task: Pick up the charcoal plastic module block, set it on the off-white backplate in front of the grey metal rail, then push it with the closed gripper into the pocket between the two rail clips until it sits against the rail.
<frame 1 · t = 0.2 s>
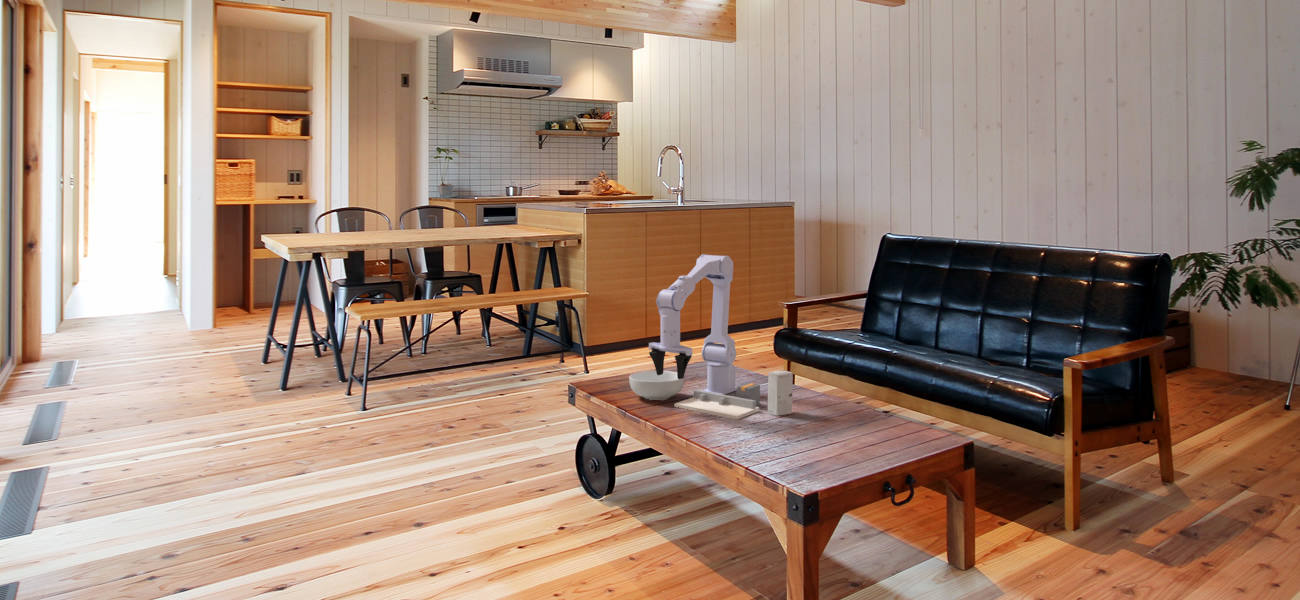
hand: (670, 376, 248), 10 cm above the table, tool pointing down, fingers open, 7 cm apart
cereal bowl: (656, 398, 264), on the table
rail base: (716, 408, 251), on the table
module: (748, 405, 255), on the table
skincare box: (779, 413, 246), on the table
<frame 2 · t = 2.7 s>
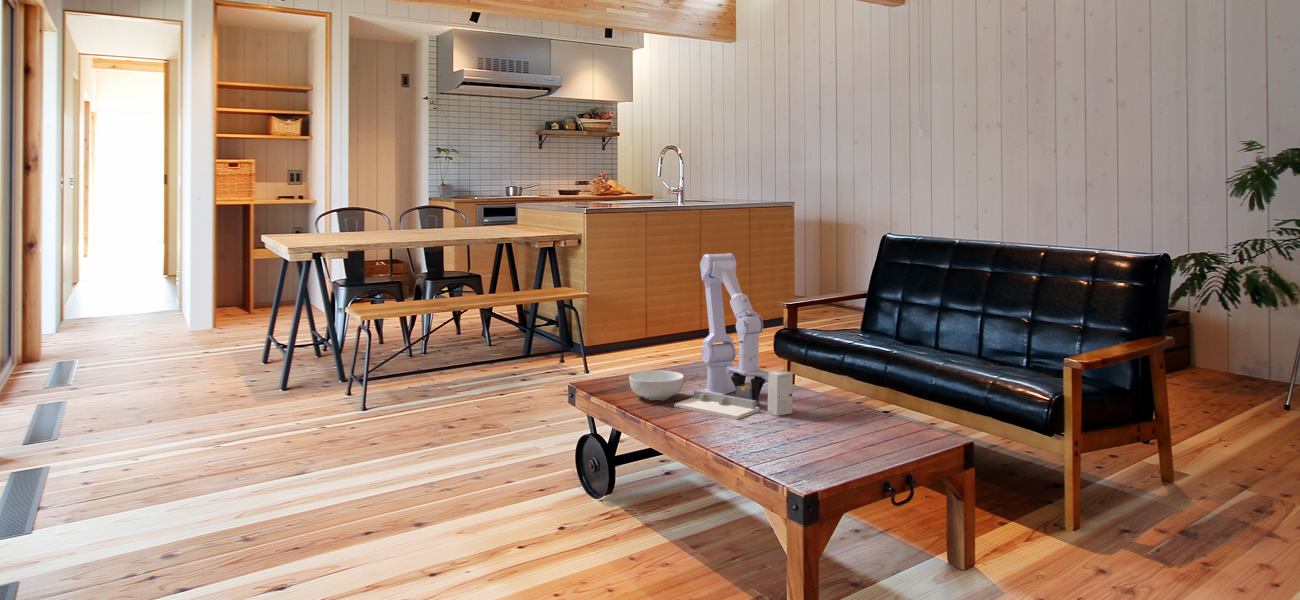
hand: (748, 399, 255), 2 cm above the table, tool pointing down, fingers closed on module, 4 cm apart
module: (748, 404, 255), on the table, touching gripper
everything else where it was.
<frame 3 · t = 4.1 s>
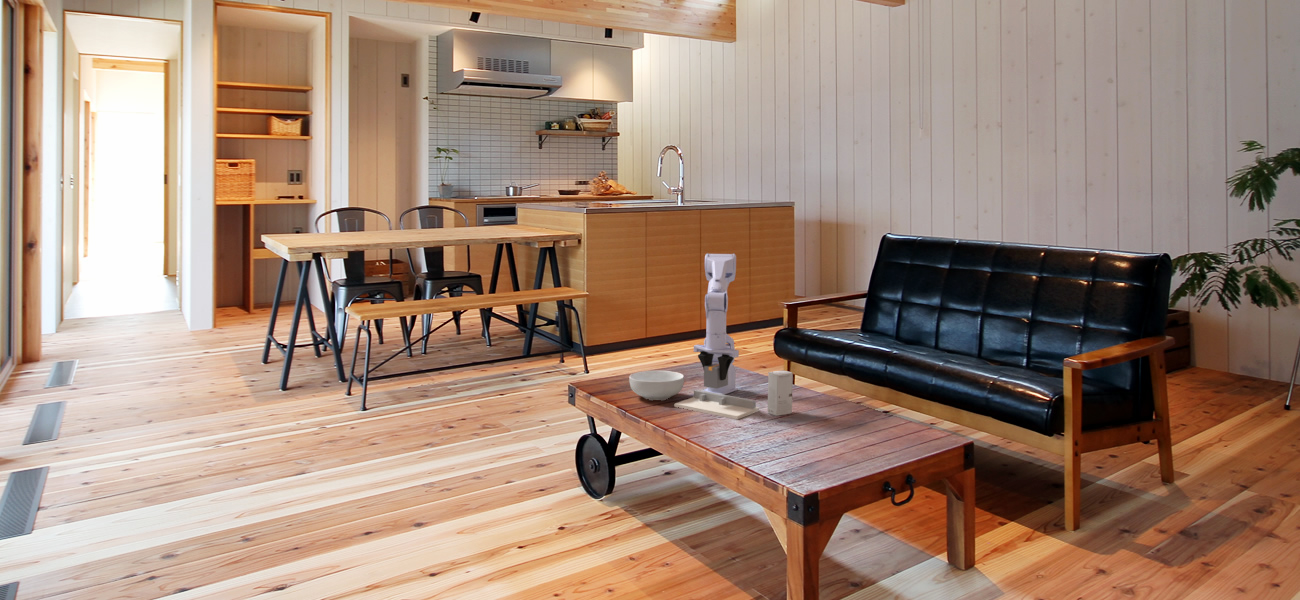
hand: (715, 378, 250), 9 cm above the table, tool pointing down, fingers closed on module, 4 cm apart
module: (715, 385, 251), point 7 cm above the table, touching gripper
everything else where it was.
when the fingers open (3 cm above the table, at t = 5.9 s): module stays where it is, resting on rail base.
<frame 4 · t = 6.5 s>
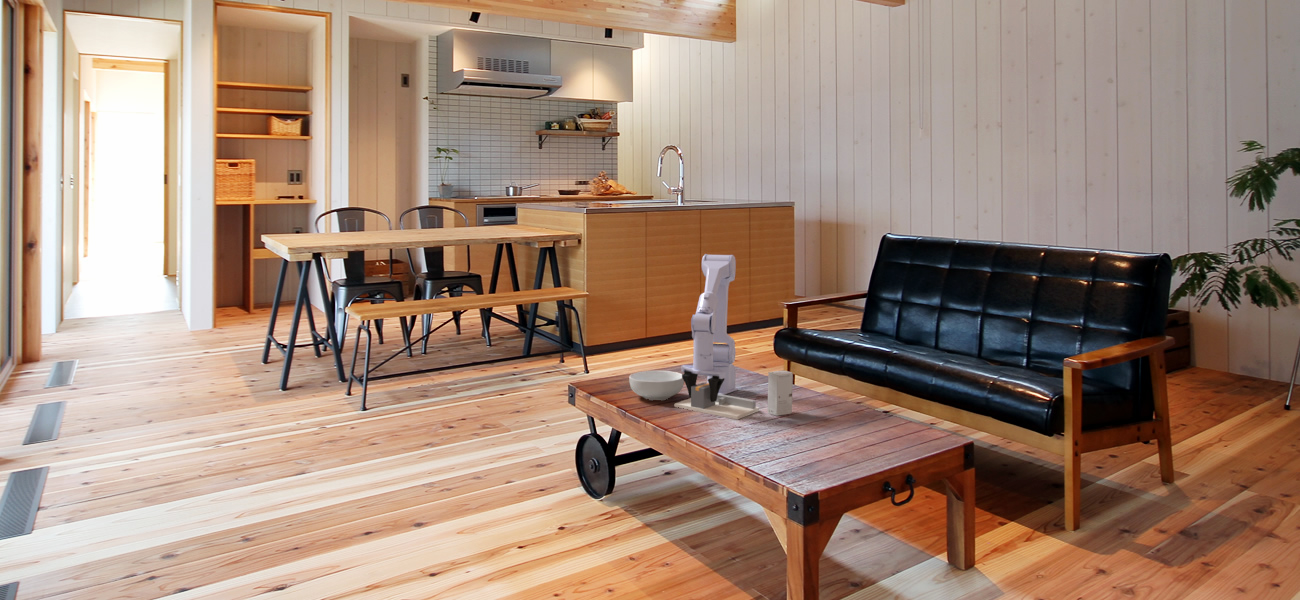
hand: (702, 399, 250), 3 cm above the table, tool pointing down, fingers open, 7 cm apart
module: (703, 405, 251), point 1 cm above the table, touching rail base
everything else where it was.
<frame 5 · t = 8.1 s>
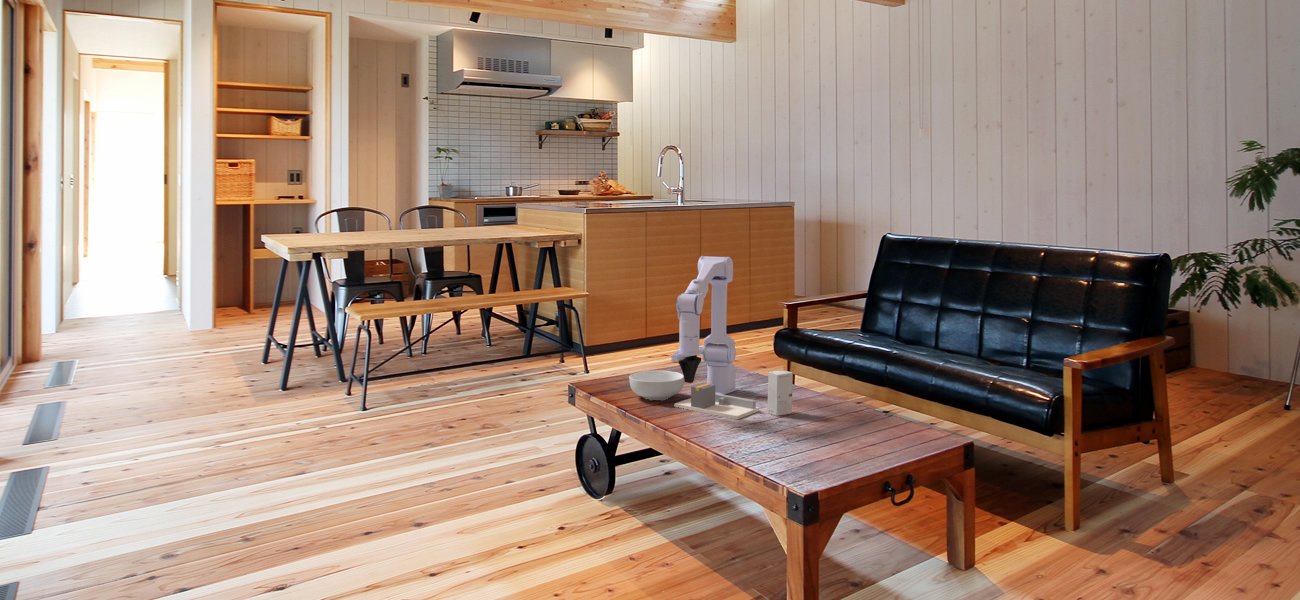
hand: (689, 382, 244), 9 cm above the table, tool pointing down, fingers closed
nothing on the table moved.
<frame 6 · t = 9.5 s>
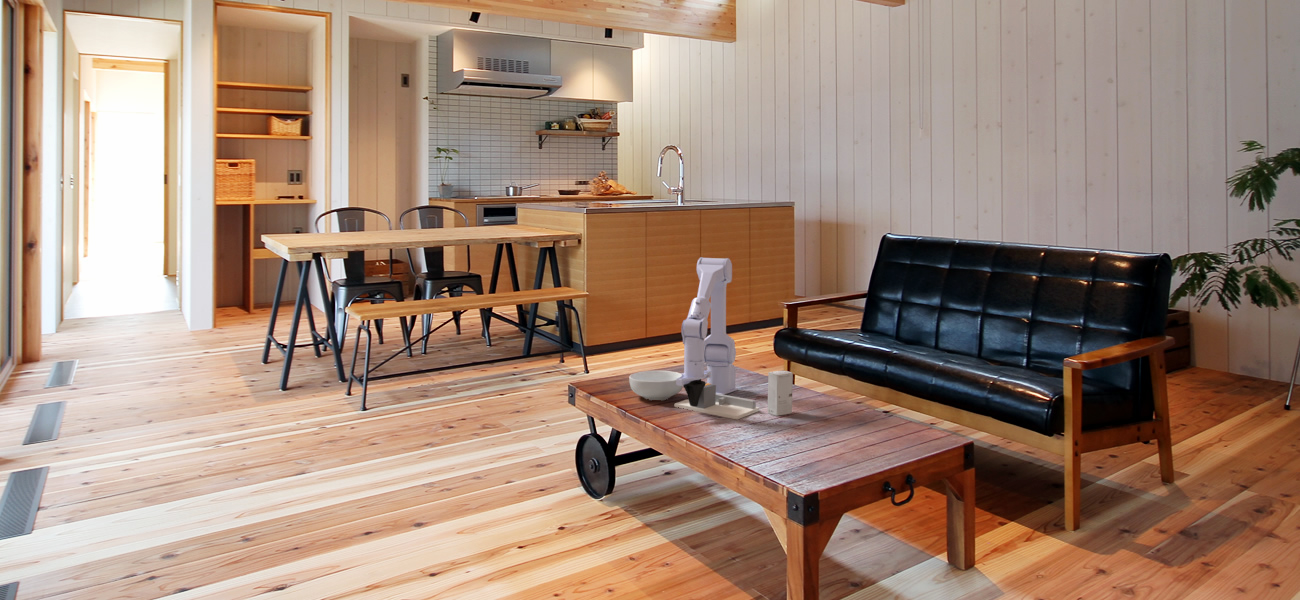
hand: (693, 405, 247), 2 cm above the table, tool pointing down, fingers closed
module: (703, 405, 251), point 1 cm above the table, touching gripper
everything else where it was.
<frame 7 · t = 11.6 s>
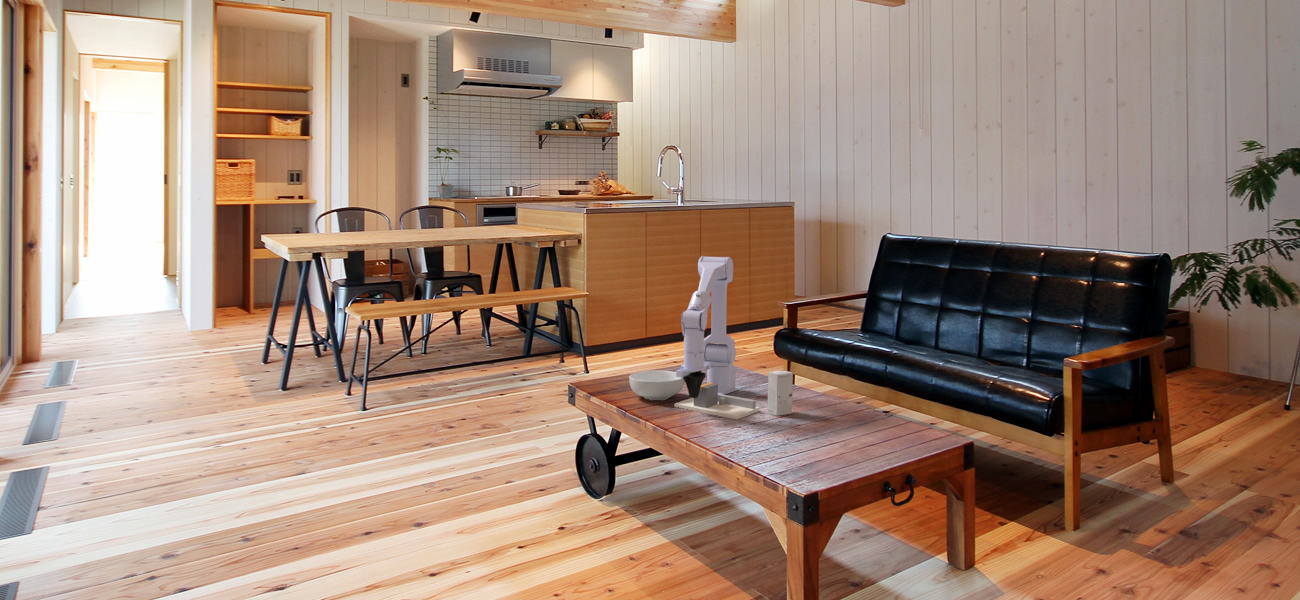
hand: (693, 397, 246), 4 cm above the table, tool pointing down, fingers closed
module: (705, 404, 251), point 1 cm above the table, touching rail base
everything else where it was.
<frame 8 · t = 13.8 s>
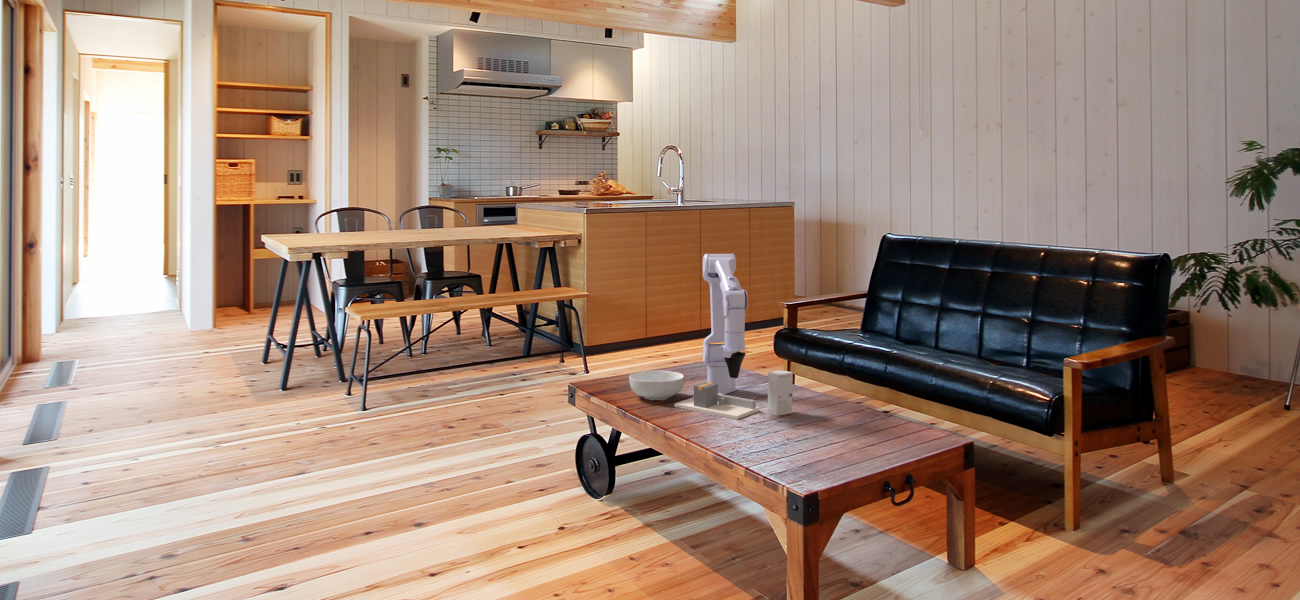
hand: (734, 377, 248), 10 cm above the table, tool pointing down, fingers closed
nothing on the table moved.
at the end: module 1.2 cm from the target spot on the rail base, point 1.0 cm above the rail base's base; module tilted 0° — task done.
